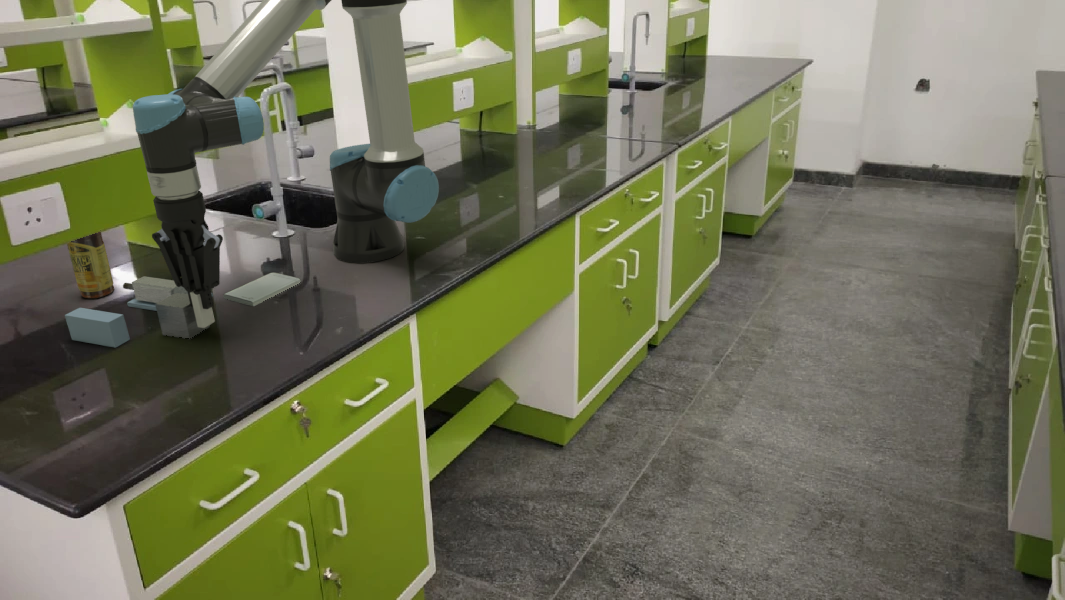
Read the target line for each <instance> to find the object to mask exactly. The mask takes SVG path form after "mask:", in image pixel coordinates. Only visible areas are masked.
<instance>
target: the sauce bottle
mask: <svg viewBox="0 0 1065 600" xmlns="http://www.w3.org/2000/svg"><path fill="white" fill-rule="evenodd" d="M102 235H103V234H102V231H101V232H98V233H95V234H92V235H89V236H86V237H83V238H80V239H77V240H75V241H71V242H69V243H67V242H66V245H67V251H68V254H69V257H70V261H71V265H72V269H73V273H74V276H75V281H76V285H77V288H78V290H79V293H80V295H81V297H83V298H85V299H101V298H102V297H105V296H108V295H110V294H112V293H113V292H114V290H115V286H114V280H113V279H114V278H113V275H112V272H111V267H110V264H109V258H108V255H107V254H108V253H107V249H106V246H105V242H104V240H103V236H102Z"/></svg>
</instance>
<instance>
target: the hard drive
mask: <svg viewBox="0 0 1065 600" xmlns="http://www.w3.org/2000/svg"><path fill="white" fill-rule="evenodd" d="M300 282H301V283H302V281H301V279H300V278H298V277H295V276H291V275H286V274H281V273H278V272H270V273H267V274H265V275H263V276H261V277H259V278H256V279H255V280H252V281H250V282H247V283H246V284H244V285H241V286H239V287H237V288H235V289H233V290H231V291H228V292H226V293H224V294H222V295H223V296H222V297H223V299H224V300H227V299H228V300H227V301H232V302H235V303H237V304H238V303H239V304H243V305H247V306H251V307H255V306H257V305H260V304H261V303H263V301H264V302H266V301H267V299H268V300H270V299H272V298H274V297H276V296H278V295H280V294H282V293H283V291H284V292H286V291H287V289H288V290H290V289H292V288H293V286H294V287H296V286H298V285H300V284H301V283H300ZM299 283H300V284H299ZM297 284H298V285H297ZM295 285H296V286H295ZM291 287H292V288H291ZM289 288H290V289H289ZM285 290H286V291H285ZM281 292H282V293H281ZM279 293H280V294H279ZM277 294H278V295H277ZM275 295H276V296H275ZM271 297H272V298H271ZM269 298H270V299H269ZM265 300H266V301H265Z"/></svg>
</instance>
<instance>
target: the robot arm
mask: <svg viewBox="0 0 1065 600" xmlns="http://www.w3.org/2000/svg"><path fill="white" fill-rule="evenodd" d="M340 1H341V6H342V7H341V8H342V9H343V10H344V11H345V12H346V13H347V14H349V15H350V16H351V19H352V23H353V31H354V36H355V37H354V39H355V44H356V52H357V59H358V66H359V72H360V81H361V86H362V87H361V88H362V95H363V100H364V108H365V117H366V123H367V130H368V137H369V138H368V139H369V143H364V144H363V143H362V144H357V145H350V146H344V147H342V148H337V149H335V150H333V151H332V152H331V153H330V154H329V171H330V176H331V182H332V183H331V184H332V190H333V196H334V204H335V209H336V216H337V221H336V222H337V223H336V228H335V231H334V237H333V242H332V249H333V255H334V257H335V258H336V259H337V260H339V261H343V262H348V263H355V264H356V263H359V264H360V263H361V264H362V263H363V264H365V263H366V264H367V263H374V262H380V261H385V260H387V259H391V258H393V257H396V256H397V255H399V254H400V253H402V252H403V251H404V249H405V244H404V237H403V235H402V233H401V231H400V228H399V226H398V223H397V222H402V223H408V224H409V223H410V224H411V223H416V222H417V221H418V222H419V221H420V220H422V219H423V218H425V217H426V216H427V215H428V214H429V213H430V212H431V210H432V208H433V207H434V206H435V205H436V203H437V200H438V197H439V190H440V188H439V187H440V185H439V180H438V177H437V175H436V173H434V171H432V170H431V169H430V168H429V167H428V166H426V162H425V152H424V149H423V147H422V146H420V145H419V144H418V143H416V141H415V134H414V133H415V132H414V126H413V125H414V123H413V116H412V115H413V114H412V108H411V98H410V97H411V96H410V88H409V83H408V82H409V81H408V72H407V65H406V58H405V47H404V39H403V32H402V21H401V12H402V11H403V9H405V7H406V5H407V3H408V1H407V0H340ZM331 2H332V0H262V1H261V2H260V3H259V5H258V6H257V7H256V8H255V9H254V10H253V11H252V12H251V13H250V14H249V16H248V17H247V18H246V19H245V20H244V21H243V22H242V23H241V25H240V26H239V27H238V28H237V29H236V30H235V31H234V32H233V34H232V35H230V37H229V38H228V39H227V40H226V41H225V42H224V44H223V45H221V47H220V48H219V49H218V50H217V52H215V54H213V56H212V57H211V58H210V59H209V60H208V61H207V63H206V64H205V65H204V66H203V67H201V69H200V71H198V72H197V74H196V75H195V76H194V77H193V78H192V79H191V80H190V81H189V82H188V83H187V84H186V85H185V87H184V88H179V89H175V90H173V91H170V92H169V93H168V94H166V93H165V94H159V95H158V94H155V95H153V94H152V95H147V96H143V97H140V98H137V99H136V100H134V102H133V104H132V110H133V111H132V112H133V120H134V125H135V132H136V134H137V137H138V142H139V145H140V148H141V153H142V157H143V160H144V161H143V162H144V164H145V169H146V173H147V178H148V182H149V186H150V191H151V194H152V195H153V196H154V198H153V205H154V208H155V209H154V210H155V214H156V217H157V219H158V220H159V221H160V222H161V225H160V226H161V229H159V230H158V231H155V232H154V233H152V234H151V238H152V240H153V241H154V242H155V244H157V246H158V248H159V249H160V252H161V255H162V257H163V260H164V261H165V263H166V266H167V268H168V271H169V273H170V275H171V278H172V280H174V282H175V284H176V286H177V287H180V286H181V287H183V288H185V290H186V291H187V292H188V296H189V301H190V305H191V307H193V308H194V313H195V317H196V321H197V326H198V327H201V328H205V327H207V326H210V325H212V324H213V323H215V322H216V320H215V317H214V312H213V307H214V299H213V297H212V294H211V293H212V290H213V289H214V288H216V287H218V286H220V281H221V280H220V279H221V278H220V277H221V276H220V274H221V273H220V270H221V266H220V264H221V261H220V259H221V258H220V256H221V251H220V250H221V245H222V243H223V240H224V238H223V236H222V235H221V234H216V235H215V234H214V233H212V231H210V229H209V225H208V224H207V222H206V219H205V216H206V212H207V209H206V203H205V199H204V198H205V197H204V194H203V192H202V191H201V188H202V184H201V180H200V176H199V171H198V166H197V160H196V155H195V153H202V152H206V151H212V150H217V149H222V148H227V147H233V146H239V145H243V146H244V145H245V144H248V143H251V142H256V141H258V140H259V139H261V138H262V136H263V133H264V130H265V127H264V126H265V124H264V118H263V113H262V110H261V108H260V106H259V105H258V103H257V102H256V100H254V99H253V98H252V97H250V96H241V94H242V93H243V92H244V91H245V90H246V89H247V88H248V86H249V85H250V84H251V83H252V82H253V81H254V80H255V78H257V76H258V75H259V74H260V73H261V71H263V69H264V68H265V67H266V66H267V64H269V63H270V61H271V60H272V59H273V58H275V57H274V56H276V55H277V54H278V52H279V51H280V50H282V48H283V47H284V45H286V43H287V42H288V41H289V40H290V39H291V38H292V37H293V35H294V34H296V32H297V31H298V30H299V28H300V27H302V25H303V24H304V23H305V22H306V21H307V19H309V18H310V16H311V15H312V14H313V13H314V12H315V11H316V10H317V11H322V10H324V9H325V8H326V7H327V6H328V4H329V3H331Z"/></svg>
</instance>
